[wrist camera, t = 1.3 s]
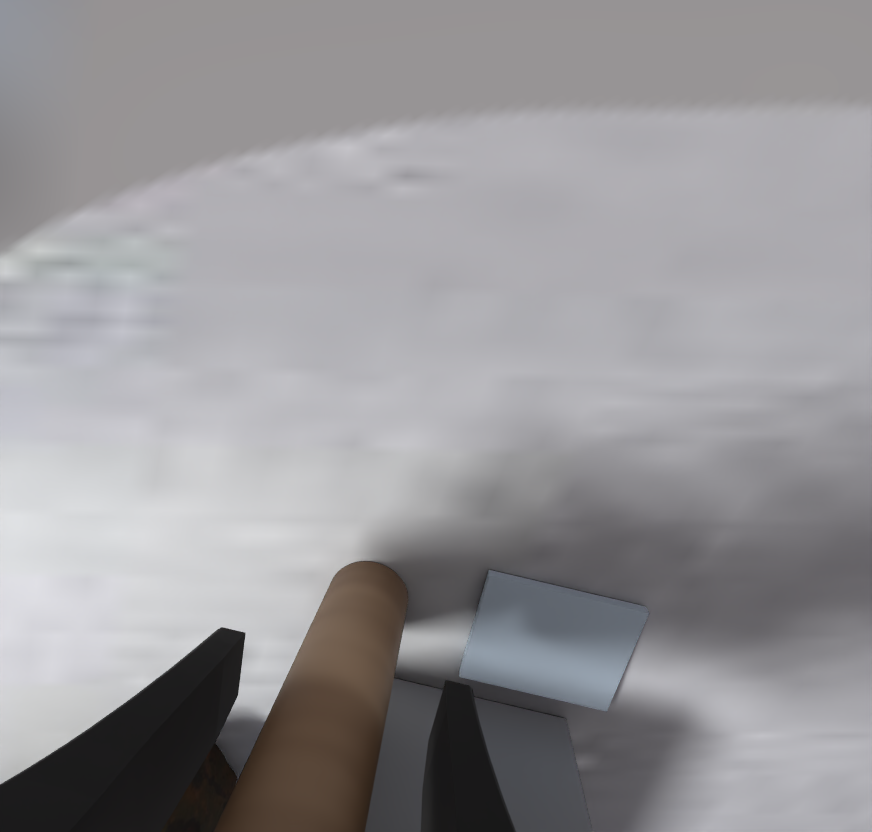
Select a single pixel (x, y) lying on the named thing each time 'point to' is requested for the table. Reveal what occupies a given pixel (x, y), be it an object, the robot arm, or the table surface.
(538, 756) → the gray hollow box
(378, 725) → the wooden rod
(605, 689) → the pad
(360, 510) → the table surface
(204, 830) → the brown rough rod
